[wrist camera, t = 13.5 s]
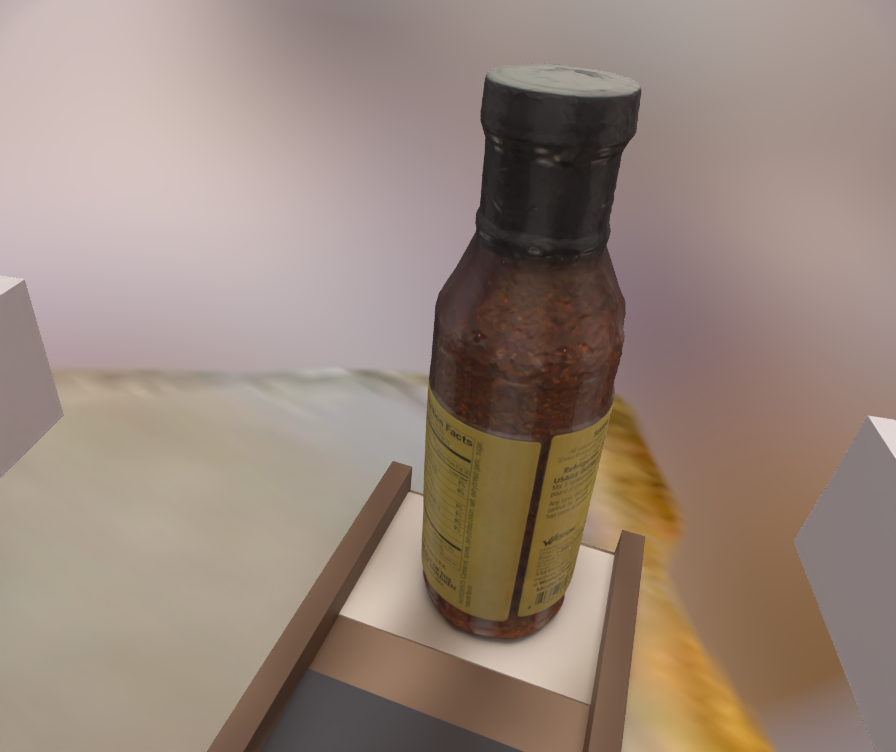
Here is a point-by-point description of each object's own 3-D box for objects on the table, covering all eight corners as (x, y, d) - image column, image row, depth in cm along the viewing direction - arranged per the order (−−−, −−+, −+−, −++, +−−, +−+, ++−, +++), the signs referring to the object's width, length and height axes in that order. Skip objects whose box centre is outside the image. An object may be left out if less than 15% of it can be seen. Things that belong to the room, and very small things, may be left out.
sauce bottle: (546, 528, 31) (660, 64, 20) (582, 647, 26) (760, 111, 15) (406, 529, 30) (444, 45, 19) (414, 653, 25) (471, 88, 14)
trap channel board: (56, 1056, 16) (30, 1027, 15) (390, 499, 33) (392, 461, 32) (533, 1334, 14) (556, 1329, 12) (631, 574, 30) (645, 536, 29)
